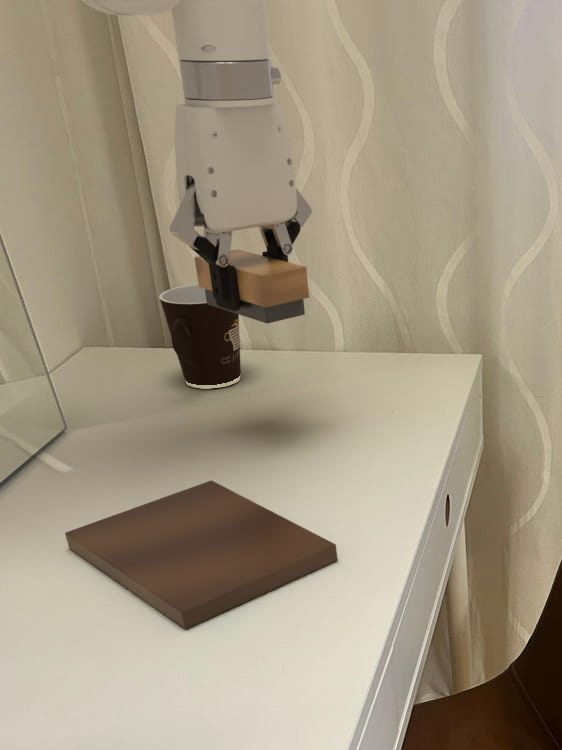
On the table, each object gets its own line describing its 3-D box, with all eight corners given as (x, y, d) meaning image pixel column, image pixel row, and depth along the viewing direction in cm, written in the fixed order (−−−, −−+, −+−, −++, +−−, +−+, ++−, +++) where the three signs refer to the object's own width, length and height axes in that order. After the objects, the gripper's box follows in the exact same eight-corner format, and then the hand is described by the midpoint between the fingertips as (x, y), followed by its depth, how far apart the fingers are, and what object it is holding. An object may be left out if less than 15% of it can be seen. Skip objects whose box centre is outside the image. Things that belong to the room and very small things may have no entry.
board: (68, 548, 80) (64, 532, 79) (214, 494, 89) (211, 479, 88) (185, 630, 70) (181, 612, 69) (338, 560, 78) (336, 544, 77)
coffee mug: (216, 364, 120) (202, 280, 114) (265, 377, 116) (253, 290, 110) (139, 391, 112) (120, 302, 106) (189, 406, 108) (172, 314, 102)
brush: (201, 304, 95) (194, 256, 93) (243, 294, 98) (237, 249, 96) (267, 325, 89) (261, 275, 86) (311, 315, 92) (306, 266, 89)
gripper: (282, 78, 90) (301, 281, 100) (114, 87, 80) (154, 312, 90) (333, 82, 86) (347, 293, 96) (162, 92, 76) (198, 328, 86)
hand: (253, 300), depth 93 cm, fingers closed on brush, 5 cm apart
